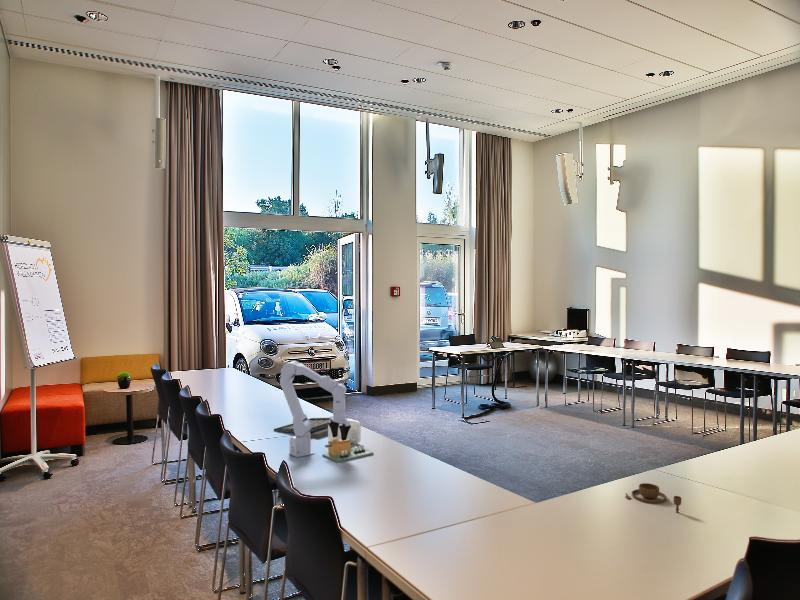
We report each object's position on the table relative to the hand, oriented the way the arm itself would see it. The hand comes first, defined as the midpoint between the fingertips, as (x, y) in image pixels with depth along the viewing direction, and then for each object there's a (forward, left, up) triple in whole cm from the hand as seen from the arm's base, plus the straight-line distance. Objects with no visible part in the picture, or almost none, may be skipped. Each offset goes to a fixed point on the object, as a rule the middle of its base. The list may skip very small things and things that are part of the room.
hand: (339, 438), depth 265 cm
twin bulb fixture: (-2, -7, -8) cm, 11 cm away
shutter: (+18, +52, -9) cm, 56 cm away
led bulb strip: (+8, -5, -8) cm, 12 cm away
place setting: (+55, -122, -9) cm, 134 cm away
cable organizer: (+13, +15, -8) cm, 21 cm away
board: (+3, -3, -8) cm, 9 cm away
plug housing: (-2, 0, -7) cm, 7 cm away
